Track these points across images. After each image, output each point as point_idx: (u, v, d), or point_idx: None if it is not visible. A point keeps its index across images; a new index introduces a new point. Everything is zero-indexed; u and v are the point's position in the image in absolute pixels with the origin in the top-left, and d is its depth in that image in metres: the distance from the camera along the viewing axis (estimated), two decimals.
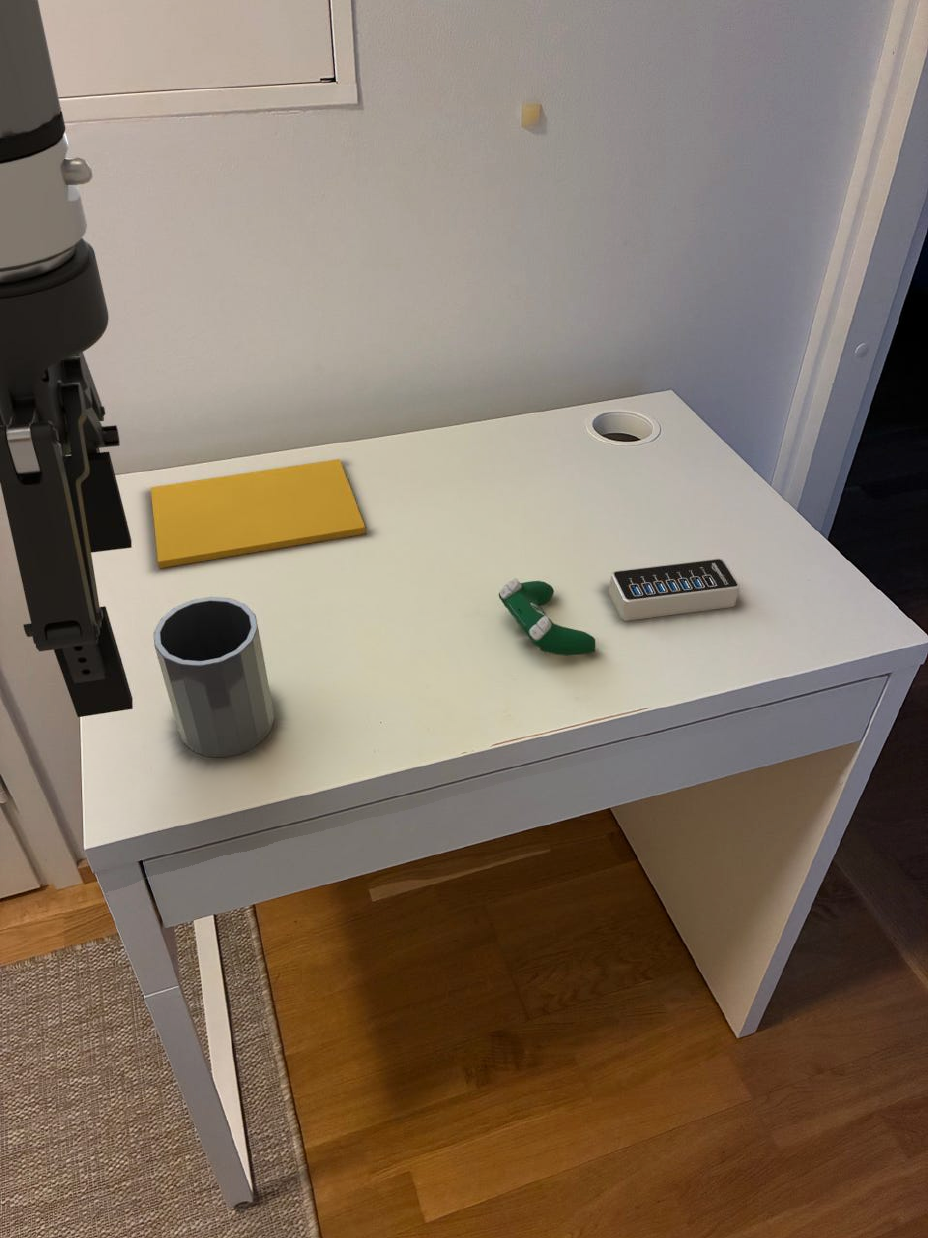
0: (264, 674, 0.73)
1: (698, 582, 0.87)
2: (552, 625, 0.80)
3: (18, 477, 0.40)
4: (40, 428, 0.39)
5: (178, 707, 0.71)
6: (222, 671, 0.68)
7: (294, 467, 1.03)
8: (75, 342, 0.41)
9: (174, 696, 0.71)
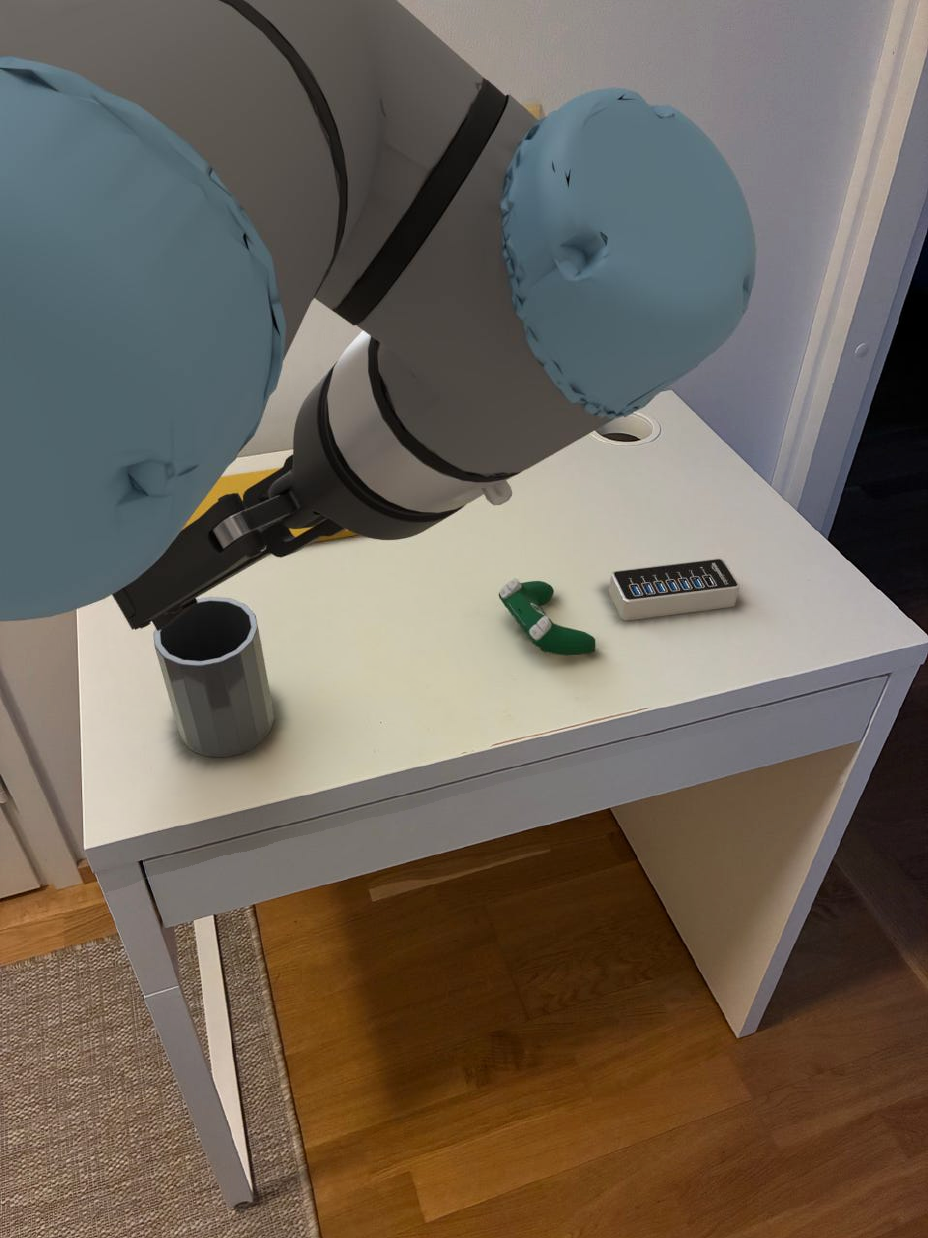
0: (264, 674, 0.73)
1: (698, 581, 0.87)
2: (552, 625, 0.80)
3: (212, 530, 0.40)
4: (248, 543, 0.38)
5: (178, 707, 0.71)
6: (222, 671, 0.68)
7: None
8: (357, 530, 0.39)
9: (174, 696, 0.71)
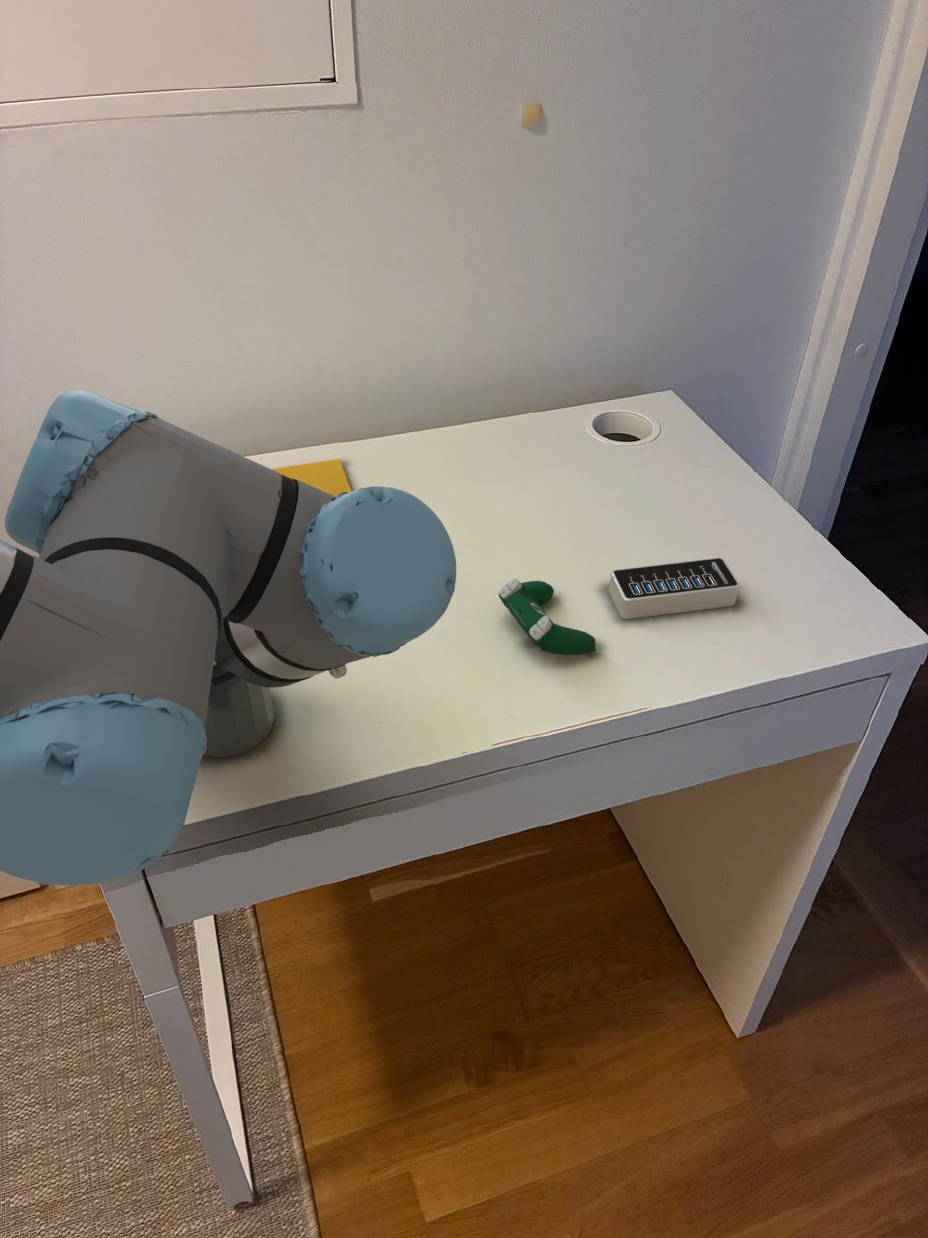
0: None
1: (698, 581, 0.87)
2: (552, 625, 0.80)
3: None
4: None
5: None
6: None
7: (294, 467, 1.03)
8: (253, 683, 0.58)
9: None
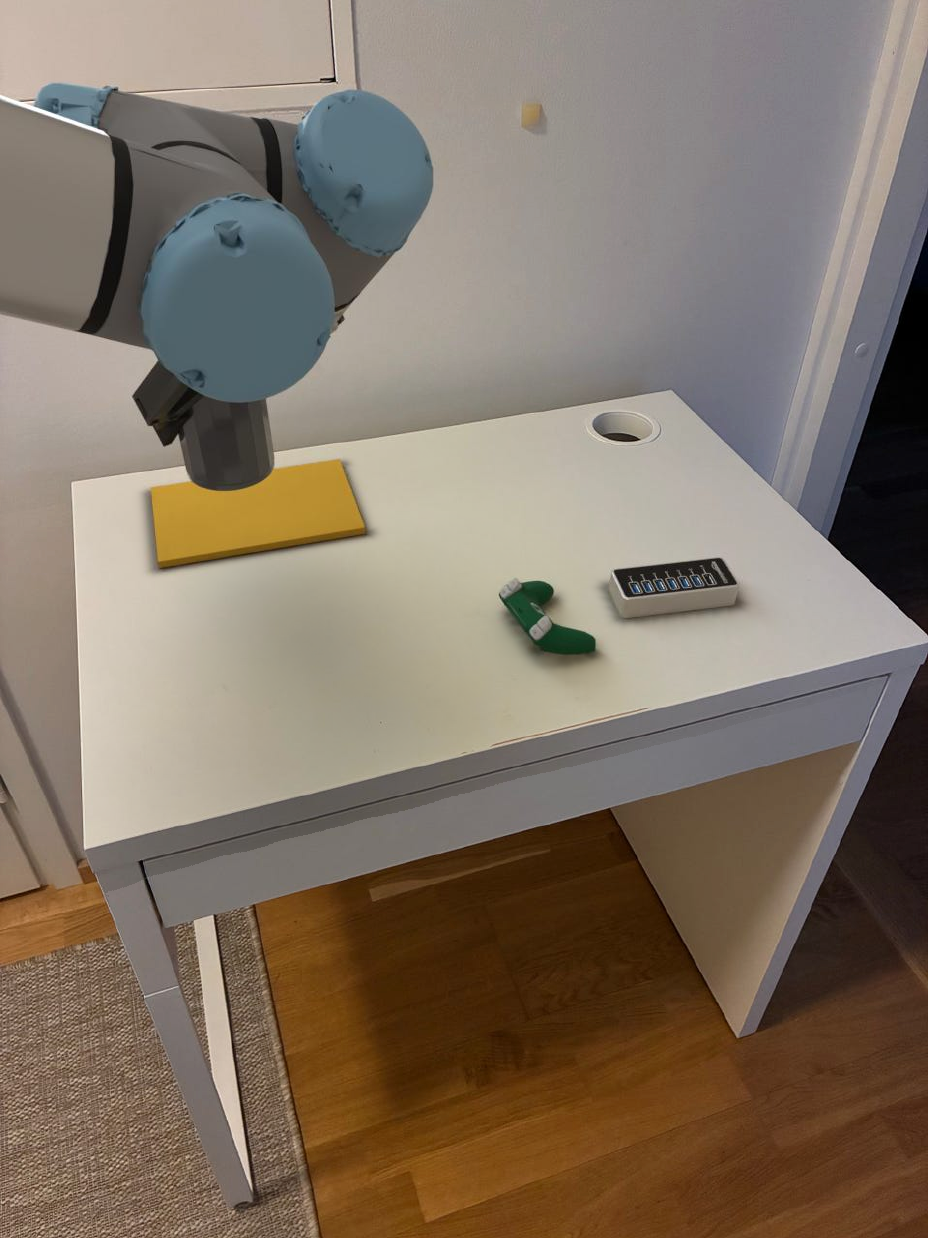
0: (265, 410, 0.79)
1: (697, 580, 0.87)
2: (552, 625, 0.80)
3: None
4: None
5: (185, 435, 0.77)
6: None
7: (294, 467, 1.03)
8: None
9: None
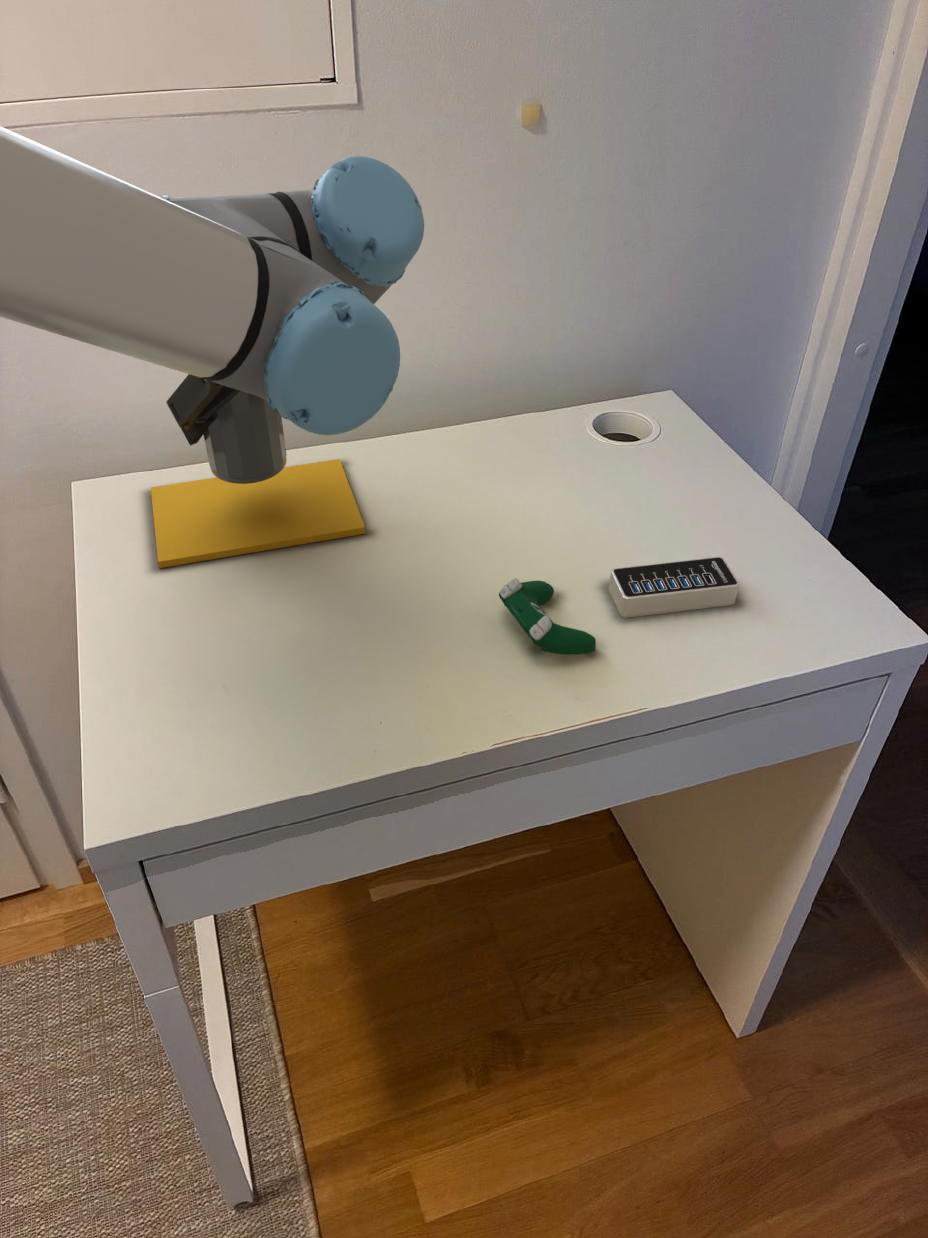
0: None
1: (697, 579, 0.87)
2: (552, 625, 0.80)
3: None
4: None
5: (210, 435, 0.89)
6: (246, 396, 0.85)
7: (294, 467, 1.03)
8: None
9: None
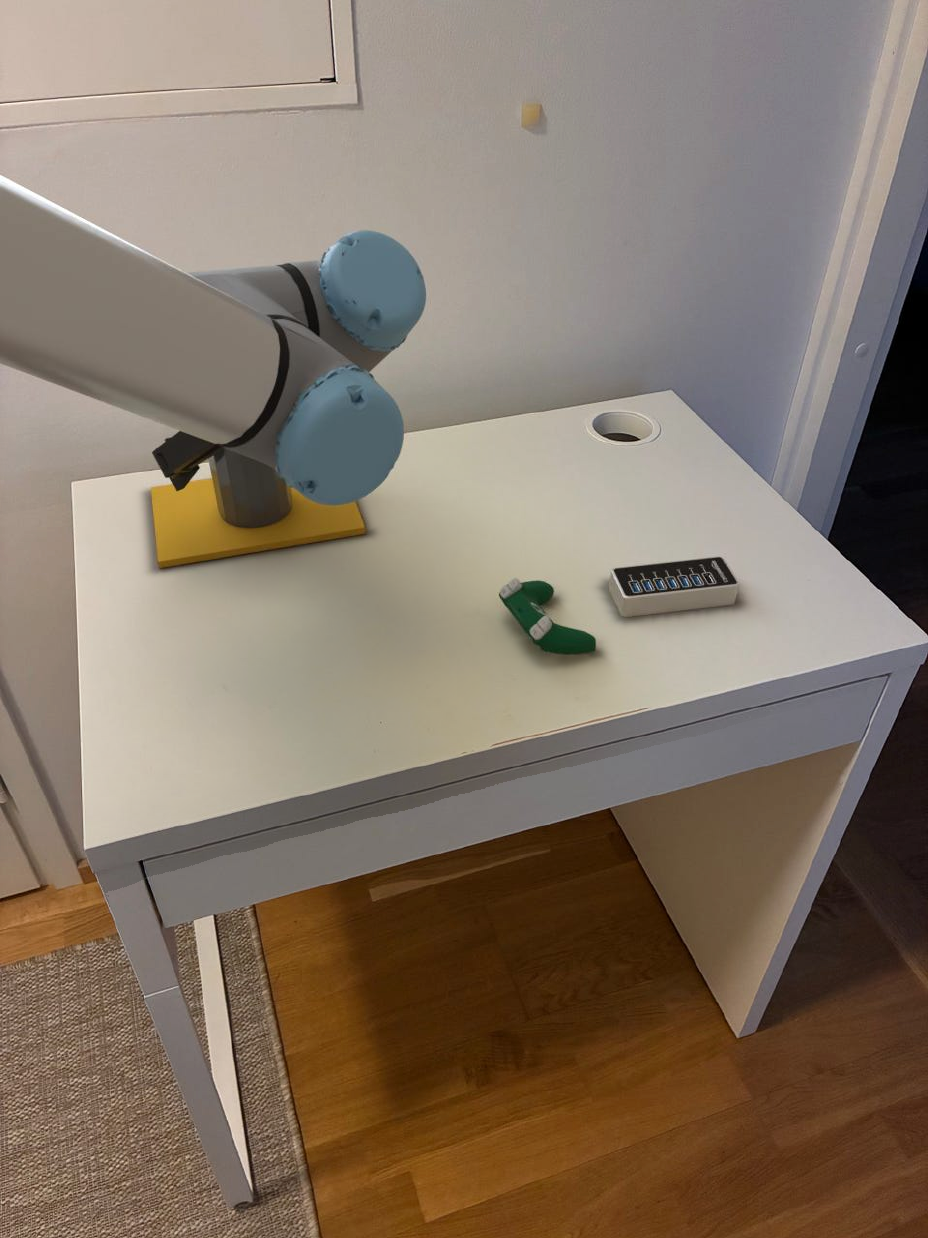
0: None
1: (697, 579, 0.87)
2: (553, 625, 0.80)
3: None
4: None
5: (219, 482, 0.92)
6: None
7: None
8: None
9: (216, 472, 0.91)
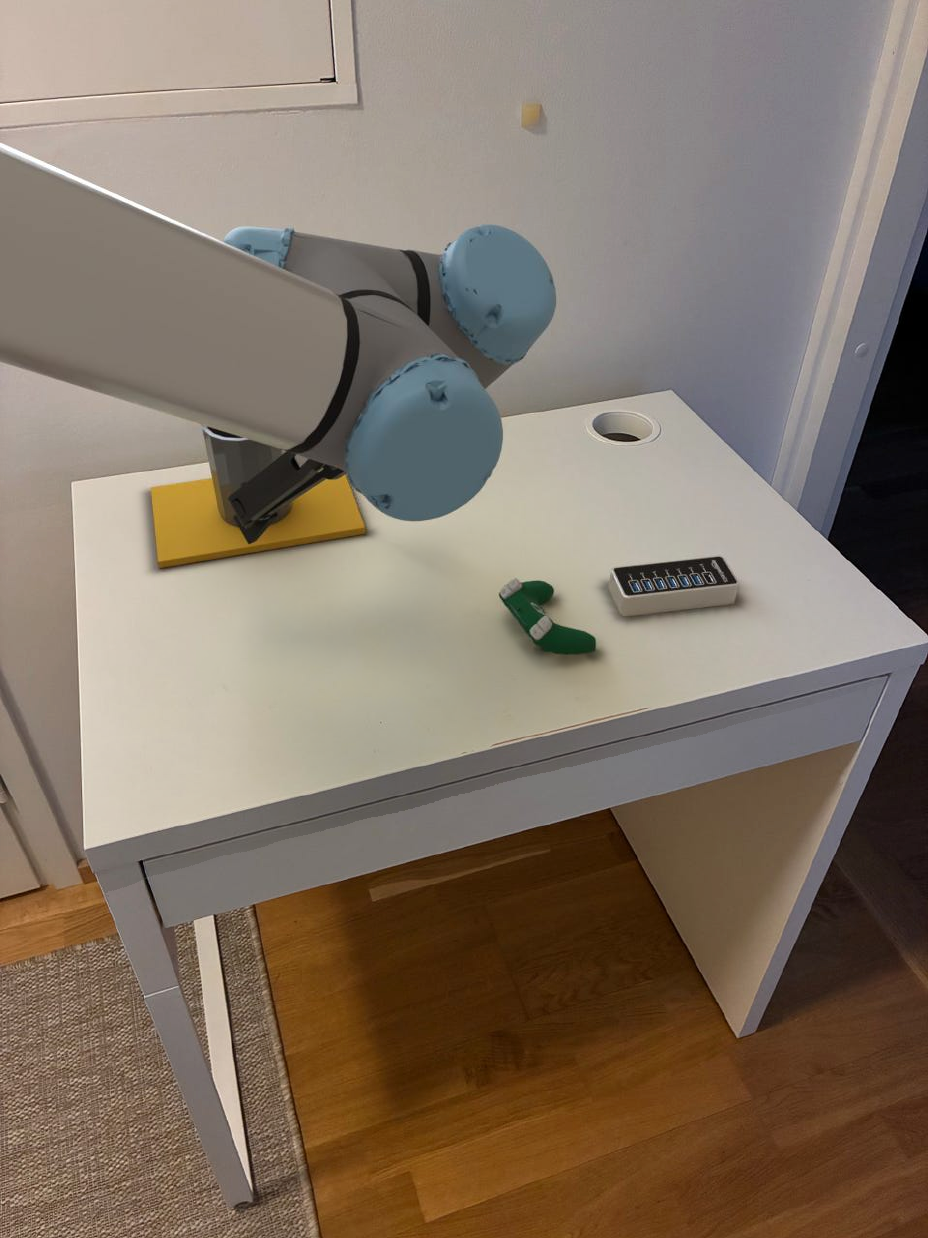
0: None
1: (697, 579, 0.87)
2: (553, 625, 0.80)
3: (293, 458, 0.71)
4: (315, 461, 0.69)
5: (219, 482, 0.92)
6: (254, 447, 0.89)
7: None
8: None
9: (216, 472, 0.91)
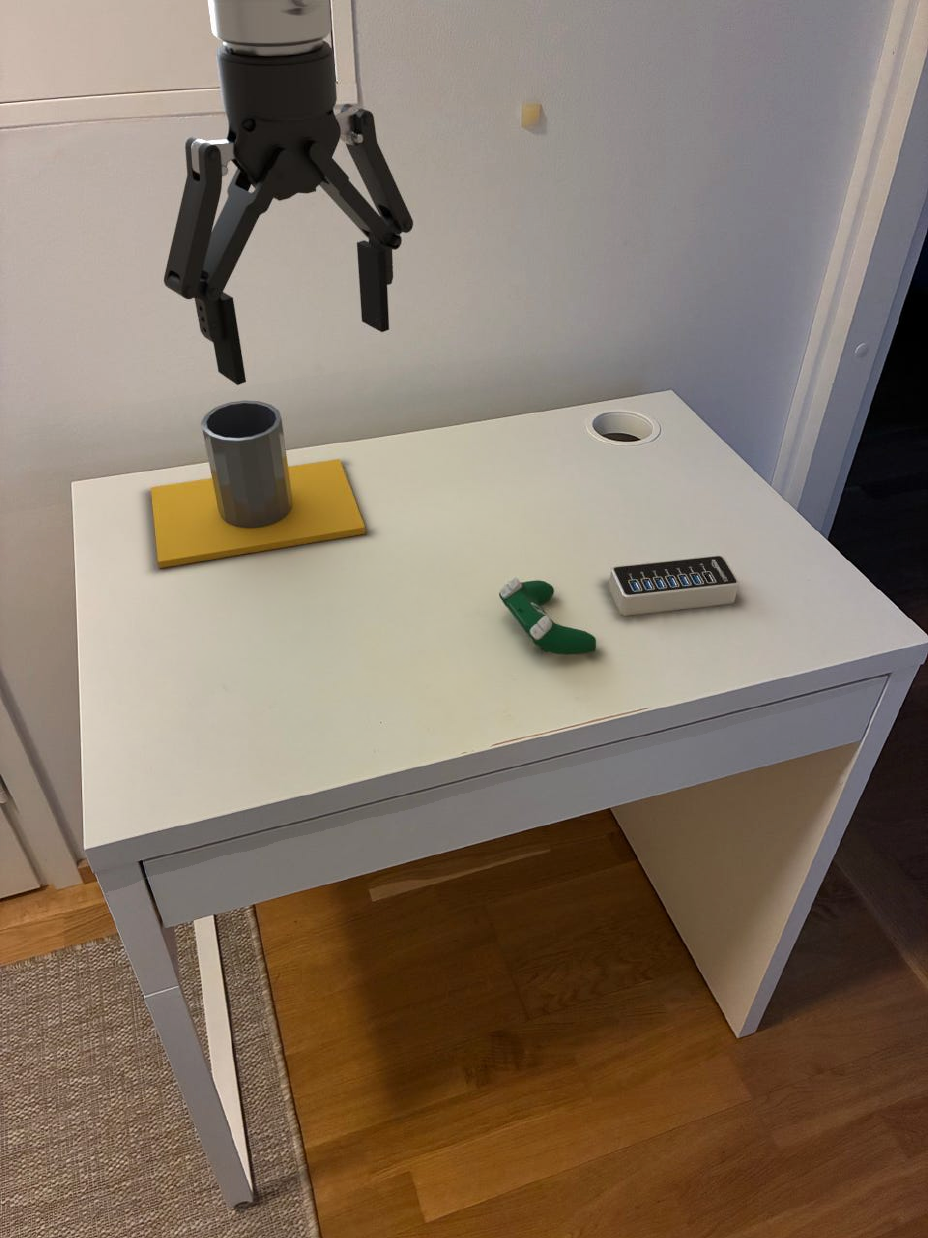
0: (286, 461, 0.94)
1: (697, 578, 0.87)
2: (553, 624, 0.80)
3: (195, 174, 0.63)
4: (205, 145, 0.61)
5: (219, 482, 0.92)
6: (254, 447, 0.89)
7: (294, 467, 1.03)
8: (264, 109, 0.61)
9: (216, 472, 0.91)
